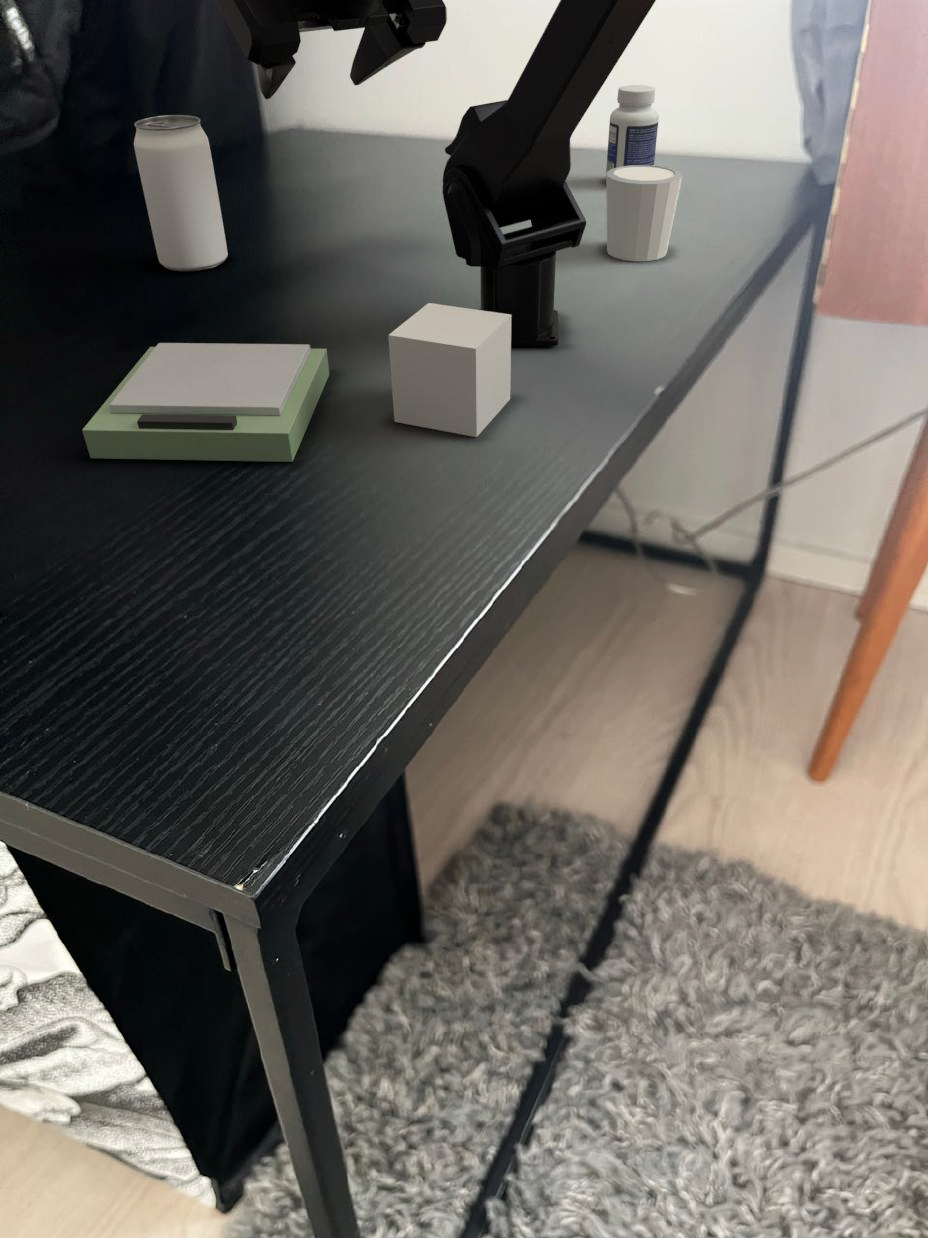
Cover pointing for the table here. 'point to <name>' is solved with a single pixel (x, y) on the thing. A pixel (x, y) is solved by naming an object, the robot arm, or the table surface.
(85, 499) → the table surface
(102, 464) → the table surface
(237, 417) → the scale
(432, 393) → the white cube
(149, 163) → the can
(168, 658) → the table surface
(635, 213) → the white cup
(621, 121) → the pill bottle
